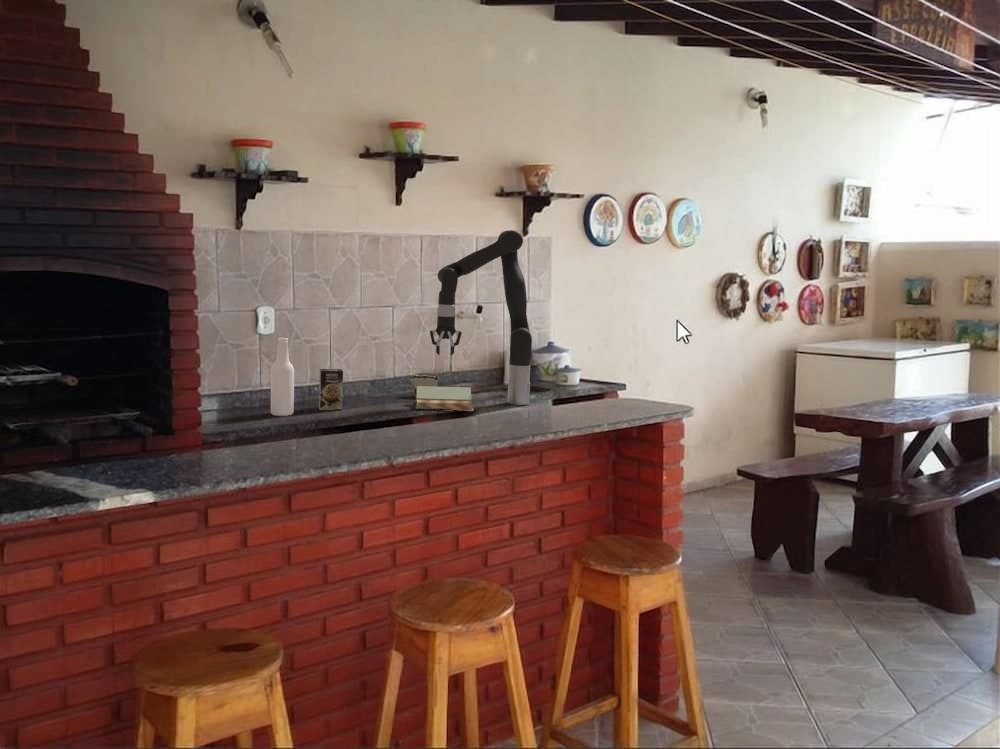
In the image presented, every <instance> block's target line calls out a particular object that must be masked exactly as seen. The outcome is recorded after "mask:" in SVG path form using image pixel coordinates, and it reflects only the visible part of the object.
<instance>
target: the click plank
mask: <svg viewBox="0 0 1000 749" xmlns="http://www.w3.org/2000/svg"><path fill="white" fill-rule="evenodd" d="M417 400H444V401H471V402H472V389H471V387H466V386H465V387H462V386H437V387H432V386H417V397H416V401H417Z"/></svg>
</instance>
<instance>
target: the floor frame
mask: <svg viewBox="0 0 1000 749" xmlns="http://www.w3.org/2000/svg"><path fill="white" fill-rule="evenodd" d="M416 401H417V406H418V407H431V408H445V409H453V410H457V411H460V412H461V411H462V412H463V411H465V412H474V411H475V410H474V407H473V408H472V406H473V402H472V400H471V401H444V400H417V399H416ZM453 410H452V411H453ZM457 411H456V412H457Z"/></svg>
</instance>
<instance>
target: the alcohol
mask: <svg viewBox="0 0 1000 749" xmlns="http://www.w3.org/2000/svg"><path fill="white" fill-rule="evenodd" d="M288 340H289V338H288V337H283V336H282V337H278V338H277V347H276V348H277V349H276V360H275V362H274V363H273V364H272V365H271V368H270V413H271V415H273V416H276V417H288V415H290V416H292V415H294V413H295V412H294V411H295V410H294V409H295V407H294V406H295V405H294V403H295V368H294V365H293V364H292V363H291V362H290V356H289V341H288Z"/></svg>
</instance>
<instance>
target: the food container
mask: <svg viewBox="0 0 1000 749" xmlns="http://www.w3.org/2000/svg"><path fill="white" fill-rule="evenodd" d="M411 379H412V380H413V381H412V382H413V394H414V395H413V397H416V398H417V386H432V387H438V381H440V376H439V375H438V374H435V373H429V372H420V373H419V372H418V373H413V374H412V377H411Z"/></svg>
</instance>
